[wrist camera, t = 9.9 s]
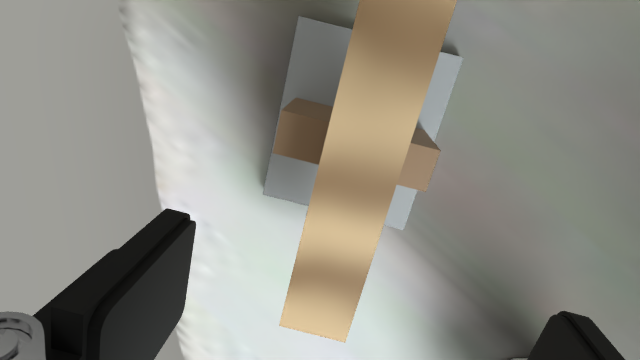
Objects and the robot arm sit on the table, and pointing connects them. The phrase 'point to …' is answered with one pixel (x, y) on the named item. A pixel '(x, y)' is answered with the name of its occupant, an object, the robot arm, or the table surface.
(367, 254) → the oak bar
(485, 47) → the table surface
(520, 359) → the disposable coffee cup
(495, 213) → the table surface
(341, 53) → the stand
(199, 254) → the table surface
